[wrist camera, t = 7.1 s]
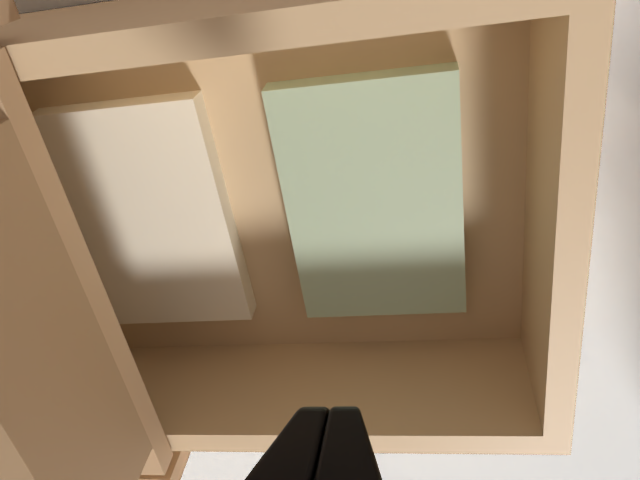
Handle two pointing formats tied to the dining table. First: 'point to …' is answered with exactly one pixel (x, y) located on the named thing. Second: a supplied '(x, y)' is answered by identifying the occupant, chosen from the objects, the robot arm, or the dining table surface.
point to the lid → (61, 329)
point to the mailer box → (335, 206)
